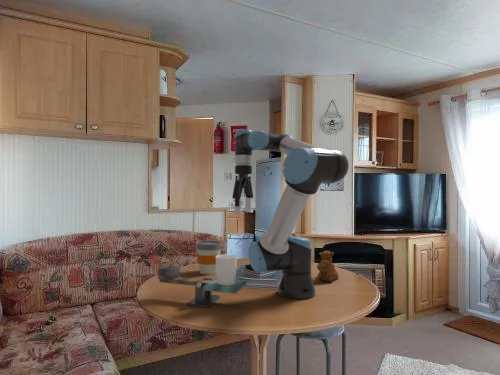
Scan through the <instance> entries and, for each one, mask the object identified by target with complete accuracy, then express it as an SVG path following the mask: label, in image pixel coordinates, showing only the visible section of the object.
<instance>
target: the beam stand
mask: <svg viewBox="0 0 500 375" xmlns="http://www.w3.org/2000/svg"><path fill="white" fill-rule="evenodd" d="M203 280H213V278H212V277H210V276H208V277H203ZM204 286H205V283H204V282H196V283H195V286H194V291H195V293H194V294H195V295H194V297H193V298H192V299H190V300H188V301H187V302H186V306H189V307H197V308H203V309H206V308H208V307H210V306H211V305H213V304H214V303H215V302H217V301H218V300H220V299H221V295H218V294H213V291H206V290H204Z"/></svg>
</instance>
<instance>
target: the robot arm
mask: <svg viewBox="0 0 500 375" xmlns="http://www.w3.org/2000/svg"><path fill="white" fill-rule="evenodd" d="M234 137H235V138H234V151H235V152H234V155H235V156H234V158H233V159H234V164H235V166H234V174H236V175H235V181H234V186H233V191H232V199H234V215H242V194H243V191H244V194H245V198H244V203H245V204H244V209H245V210H244V212H245V213H251V212H252V199H253V198H254V193H253V186H252V177H251V176H249V175H252V174H253V166H252V165H253V151H268V152H279V153H280V154H284V155H286V156H285V158H284V159H283V160H284V161H283V164H282V167H283V169H282V173H283V177H284V182H285V184H286V186H285V188H284V191H283V193H282V196H281V198H280V200H279V202H278V205H277V207H276V209H275V211H274V214H273V215H272V218H271V220H270V223H269V225H268V228H267V229H266V231H265V232H263V233H261V235H260V236H259V238H258V241H253V242H250V244H249V246H248V251H247V252H248V253H247V254H248V255H247V256H248V260H249V264H250V267H251V268H252V270H253V271H254V272H256V273H265V274H266V273H269V272H278V271H282V273H281V274H282V275H281V277H280V280H279V283H278V287H277V294H278V296H280V297H283V298H287V299H292V300H293V299H295V300H304V299H311V298H313V297H315V296H316V287H315V284H314V280H313V278H312V243H311V242H312V241H311V240H310V239H309V238H306V237H301V236H294V235H292V233H293V231H294V229H295V227H296V225H297V222H298V221H299V218H300V216H301V214H302V213H303V210H304V209H305V206H306V205H307V202H308V201H309V198H310V196H313V195H315V194H317V192H318V191H319V188H320V186H321V185H322V184H323V185H325V184H327V185H328V184H329V185H330V184H331V185H332V184H335V183H338V182H340V181H342V180H343V179H344V178H345V177H346V175H347V173H349V172H348V171H349V166H350V164H349V159H348V157H347V156H346V155H345V153H343V152H342V151H340V150H337V149H332V148H329V147H326V148H321V147H318V146H315V145H313V144H310V143H308V142H304V141H301V140H299V139H296V138H294V137H293V135H290V134H287V133H284V134H283V133H282V134H281V133H272V132H265V131H264V130H253V131H252V130H250V129H244V128H243V129H242V128H241V129H237V130H236V131H235V135H234Z"/></svg>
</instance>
